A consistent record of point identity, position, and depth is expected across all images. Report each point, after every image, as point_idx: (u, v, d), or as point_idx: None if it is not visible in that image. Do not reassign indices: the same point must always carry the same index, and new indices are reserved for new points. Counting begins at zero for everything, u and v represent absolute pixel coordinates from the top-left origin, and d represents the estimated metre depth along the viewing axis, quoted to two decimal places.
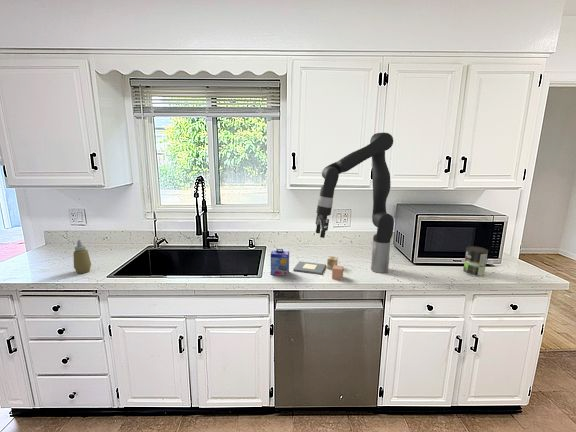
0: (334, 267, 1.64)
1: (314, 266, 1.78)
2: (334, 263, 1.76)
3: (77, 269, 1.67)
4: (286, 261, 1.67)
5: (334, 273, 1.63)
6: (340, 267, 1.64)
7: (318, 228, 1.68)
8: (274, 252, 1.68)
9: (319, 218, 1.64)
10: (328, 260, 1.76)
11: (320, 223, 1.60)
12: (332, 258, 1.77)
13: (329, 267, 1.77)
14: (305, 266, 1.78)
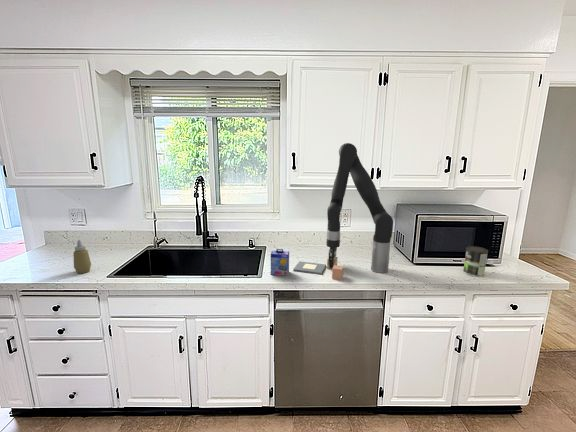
0: (334, 267, 1.64)
1: (314, 266, 1.78)
2: (334, 263, 1.76)
3: (77, 269, 1.67)
4: (286, 261, 1.67)
5: (334, 273, 1.63)
6: (340, 267, 1.64)
7: None
8: (274, 252, 1.68)
9: None
10: (328, 260, 1.76)
11: None
12: None
13: None
14: (305, 266, 1.78)
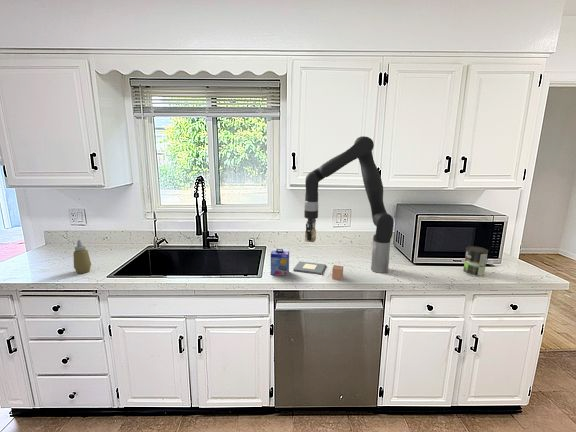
0: (334, 267, 1.64)
1: (314, 266, 1.78)
2: (312, 235, 1.71)
3: (77, 269, 1.67)
4: (286, 261, 1.67)
5: (334, 273, 1.63)
6: (340, 267, 1.64)
7: None
8: (274, 252, 1.68)
9: None
10: None
11: None
12: None
13: (306, 240, 1.72)
14: (305, 266, 1.78)
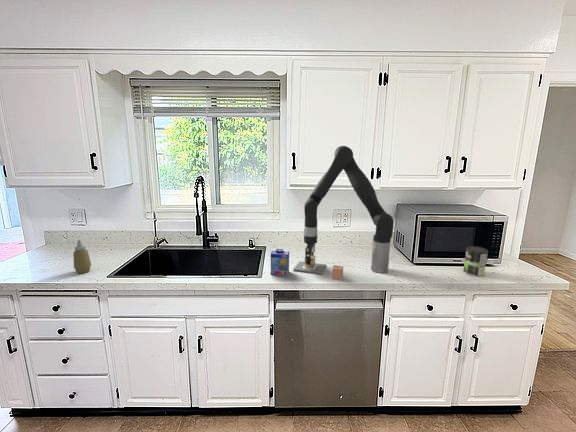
0: (334, 267, 1.64)
1: None
2: (311, 261, 1.74)
3: (77, 269, 1.67)
4: (286, 261, 1.67)
5: (334, 273, 1.63)
6: (340, 267, 1.64)
7: None
8: (274, 252, 1.68)
9: None
10: (305, 258, 1.75)
11: None
12: None
13: (306, 266, 1.76)
14: None
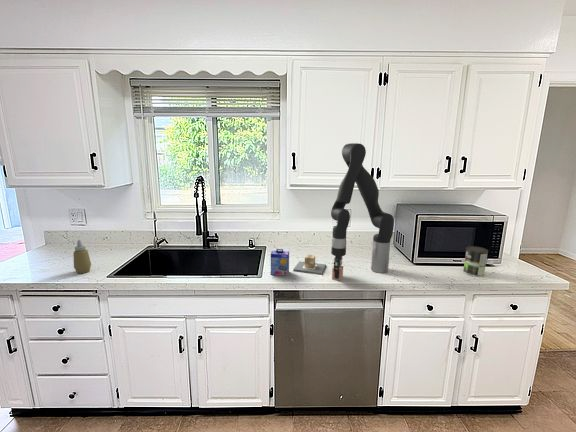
0: None
1: None
2: (311, 261, 1.74)
3: (77, 269, 1.67)
4: (286, 261, 1.67)
5: (334, 273, 1.63)
6: (340, 267, 1.64)
7: None
8: (274, 252, 1.68)
9: None
10: (305, 258, 1.75)
11: None
12: (309, 256, 1.76)
13: (306, 266, 1.76)
14: None
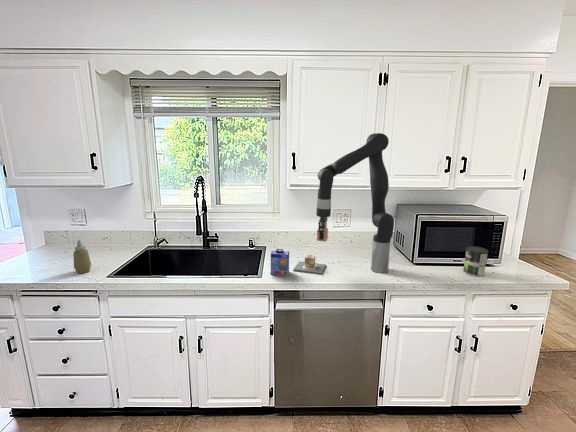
0: None
1: None
2: (311, 261, 1.74)
3: (77, 269, 1.67)
4: (286, 261, 1.67)
5: None
6: (325, 229, 1.67)
7: None
8: (274, 252, 1.68)
9: None
10: (305, 258, 1.75)
11: None
12: (309, 256, 1.76)
13: (306, 266, 1.76)
14: None
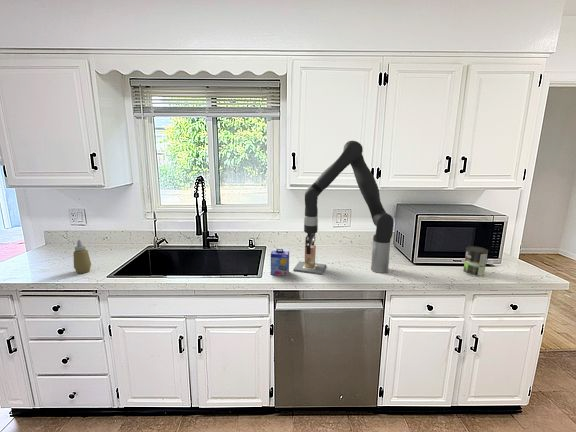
0: None
1: (314, 266, 1.78)
2: (311, 261, 1.74)
3: (77, 269, 1.67)
4: (286, 261, 1.67)
5: None
6: (312, 246, 1.75)
7: None
8: (274, 252, 1.68)
9: None
10: (305, 258, 1.75)
11: None
12: None
13: (306, 266, 1.76)
14: None
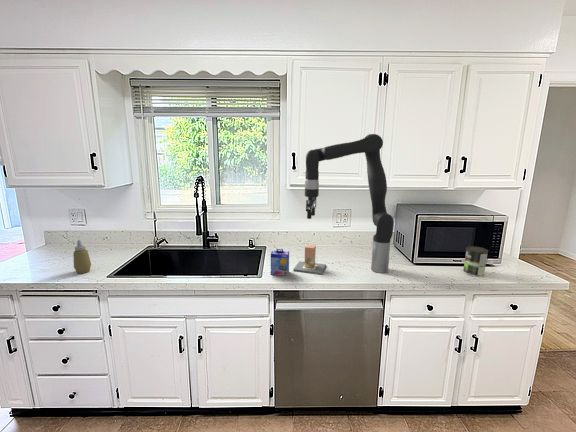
0: (307, 246, 1.75)
1: (314, 266, 1.78)
2: (311, 261, 1.74)
3: (77, 269, 1.67)
4: (286, 261, 1.67)
5: (306, 251, 1.74)
6: (312, 246, 1.75)
7: (312, 210, 1.75)
8: (274, 252, 1.68)
9: None
10: (305, 258, 1.75)
11: None
12: None
13: (306, 266, 1.76)
14: None
